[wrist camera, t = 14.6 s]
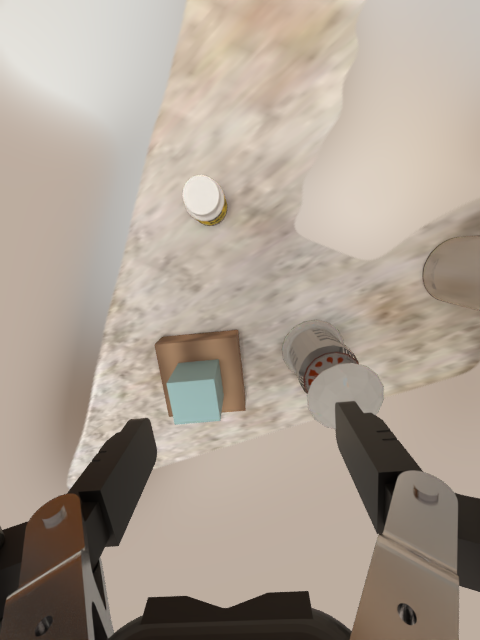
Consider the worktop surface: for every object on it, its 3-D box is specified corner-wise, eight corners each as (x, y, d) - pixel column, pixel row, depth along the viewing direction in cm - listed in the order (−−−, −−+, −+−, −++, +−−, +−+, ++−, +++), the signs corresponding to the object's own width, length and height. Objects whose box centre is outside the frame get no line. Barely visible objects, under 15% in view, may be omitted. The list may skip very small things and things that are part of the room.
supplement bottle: (215, 232, 37) (207, 228, 28) (187, 213, 36) (170, 202, 28) (234, 201, 36) (231, 187, 27) (204, 181, 35) (192, 160, 27)
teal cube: (218, 359, 38) (214, 379, 32) (223, 395, 39) (220, 420, 34) (178, 363, 38) (166, 383, 32) (184, 399, 40) (174, 424, 34)
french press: (318, 306, 39) (436, 398, 15) (363, 359, 41) (531, 514, 17) (269, 347, 41) (303, 488, 17) (314, 396, 43) (404, 583, 19)
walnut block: (237, 328, 41) (237, 337, 37) (245, 396, 44) (245, 410, 40) (163, 335, 41) (154, 344, 37) (175, 402, 44) (169, 416, 41)
